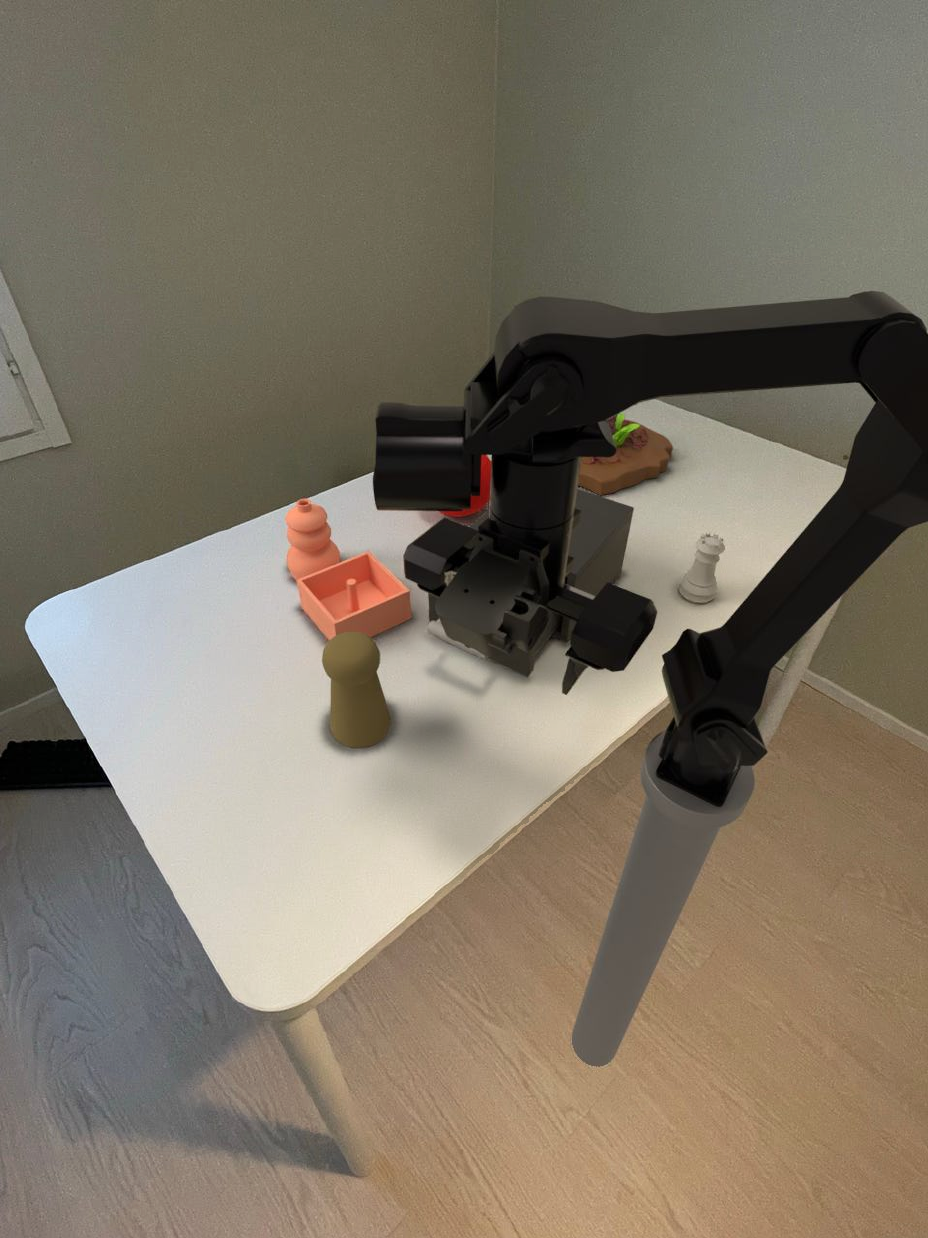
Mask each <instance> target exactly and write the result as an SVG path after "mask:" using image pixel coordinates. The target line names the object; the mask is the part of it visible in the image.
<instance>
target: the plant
mask: <svg viewBox="0 0 928 1238" xmlns="http://www.w3.org/2000/svg"><path fill="white" fill-rule="evenodd" d="M637 405H638V404H636V405H635V406H637ZM625 416H626V415H625V414H624V413H619V414H617V415H615V416H614V417H612V418H610V419H608V420H605V421H606V422H607V423H608V424H609V427H610V430H611V433H612V436H613V440H614V443H615V446H616V449H617V452H616V454H615V455H614V456H613V457H582V459H581V467H580V474H579V481H578V487H581V488H584V489H586V490H588V491H591V492H593V493H594V494H596V495H598V496H603V495H608V494H614V493H616V492H617V491H619V490H621V489H625V488H629V487H633V486H636V485H638V484H639V483H642V482H643V481H645V480H647V479H657V478H658V477H659V475H660V473H663V472H666V471H667V469H668V465H669V461H670V459H671V457H672V454H673V449H674V446H673V444H672V442H671V441H670V439H669V438H667V437H666V436H665V435H663V434H661V433H659V432H657V431H654V430H652V429H650V428H648V427H647V426H645V425H643V424H641V423H639V422H637V421H633V420H629V419H625Z"/></svg>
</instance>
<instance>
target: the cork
mask: <svg viewBox="0 0 928 1238" xmlns="http://www.w3.org/2000/svg"><path fill="white" fill-rule="evenodd" d="M321 662H322V667H323V670H324V672H325V674H326V676H327V677H328V678H329V679H330V712H329V713H330V718H329V719H330V723H329V725H330V727H329V729H330V733H331V735H332V737H333V738H334V739H335V741H336V742H337V743H339V744H341V745H343V746H345V747H348V748H353V749H361V748H367V747H371V746H374V745H376V744H378V743H379V742H380V741H382V740H383V739H384V738H385V737H386V736H387V735H388V734H389V732H390V729H391V726H392V717H391V713H390V710H389V706H388V704H387V700H386V696H385V694H384V690H383V687H382V684H381V681H380V678H379V674H378V670H379V668H380V664H381V651H380V649H379V647H378V644H377V642H376V641H375V640H374V639H373V638H372V637H371V638H370V637H369V636H368V635H366V634H364V633H361V632H355V631H352V632H344V633H340V634H338V635H336V636H334V637H333V638H332V639H331V640H330V641H329V640H328V641H327V643H326V644H325V646H324V649H323V650H322V657H321Z"/></svg>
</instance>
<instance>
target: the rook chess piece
mask: <svg viewBox="0 0 928 1238" xmlns="http://www.w3.org/2000/svg"><path fill="white" fill-rule="evenodd" d="M724 541H725V539H724V537H723V536H719V534H718V533H715V532H714V533H713V535H711V532H705V534H704V533H703V534H701V536H700V538H698V539H697V540H696V541H695V546H696V548H697V550H696V551H695V553H694V557H695V558H694V561H693V563H692V565H691V567H690V569H689V570H687V572H686V573H684V574H683V575H682V576H681V578H680V583H679V584H678V591H679V593H680V595H681V596H682V597H683V598H684V599H686V600H687V601H689V602H692V603H694V604H695V603H696V604H706V603H708V602H710V601H712V600H714V598H715V597H716V596H717V590H718V581H717V577H716V575H715V574H716V568H717V567H716V566H717V563H718V562H719V561H720V555H721V554H722V553H724V551H725V550H726V546H725V544H724Z"/></svg>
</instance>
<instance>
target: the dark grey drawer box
mask: <svg viewBox="0 0 928 1238" xmlns="http://www.w3.org/2000/svg"><path fill="white" fill-rule="evenodd" d="M575 508H576V509H578V510H581V516H580V523H579V524H578V525H577V526H576V527H575V528H574V529H573V530H572V531H571V538H570V545H569V553H568V556H571V557H573V558H574V564H573V569H572V570H571V571H570V572H569V573H568V574H567V576H566V577H567V578H568V581H567V585H569V586H572V587H574V588H577V589H579V590H581V591H584V592H586V593H589V594H591V595H594V596H596V595H597V594H598V593H599V592H600V591H601V589H602V588H603V587H604V586H605V585H606V583H607V582H608V583H611V584H613V585H614V583H615V582H616V581H617V579H618V578H619V577H620V576H621V575H622V570H623V566H624V560H625V557H626V550H627V546H628V540H629V536H630V530H631V525H632V520H633V515H634V511H635V507H634V506H630V505H628V504H624V503H622V502H619V501H615V500H612V499H610V498H607V497H603V496H602V495H599V494H596V493H592V492H588V491H586V490H583V489H579V488H577V495H576V502H575ZM487 518H489V508H488V509H487V510H486V511H485V512H484V513H482V515H480V516H479V517H478V518H477V519H476V520H475V521H474V522H472V523H471V524H470V525H469V526H468V527H470V528H472V529H475V530H477V531H478V526H479V525H480V524H482V523H483V522H484V521H485V520H486V519H487ZM575 625H576V621H573V620H571V619H569V618H566V617H564V616H563V619H562V623H561V624H560V626H559V627H558V628H557V629H556V631H555V632H554V633H553V634H552V635H551V637H553V638H556V639H557V640H560V641H563V642H564V643H568V641H569V640H571V634H572V631H573V629H574V627H575Z"/></svg>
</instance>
